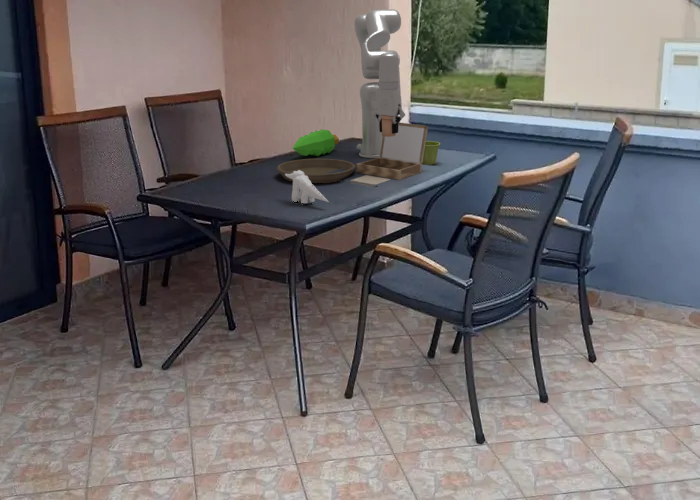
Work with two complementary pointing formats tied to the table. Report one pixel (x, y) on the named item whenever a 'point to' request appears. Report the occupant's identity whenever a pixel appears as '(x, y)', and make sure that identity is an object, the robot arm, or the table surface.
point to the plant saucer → (317, 169)
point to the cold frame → (389, 168)
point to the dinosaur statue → (304, 188)
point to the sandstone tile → (369, 180)
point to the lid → (405, 143)
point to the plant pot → (430, 152)
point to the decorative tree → (316, 143)
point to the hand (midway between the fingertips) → (388, 131)
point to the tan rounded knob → (387, 126)
